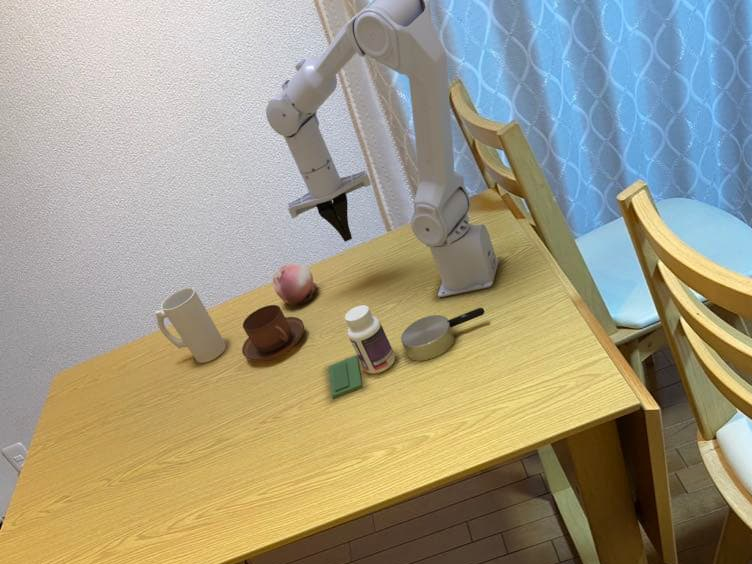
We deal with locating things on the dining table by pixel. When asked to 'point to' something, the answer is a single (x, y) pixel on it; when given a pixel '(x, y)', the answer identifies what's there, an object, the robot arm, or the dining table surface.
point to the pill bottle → (369, 340)
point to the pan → (433, 335)
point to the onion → (294, 284)
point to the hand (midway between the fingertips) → (348, 238)
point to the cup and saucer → (270, 333)
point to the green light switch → (345, 377)
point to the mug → (191, 325)
